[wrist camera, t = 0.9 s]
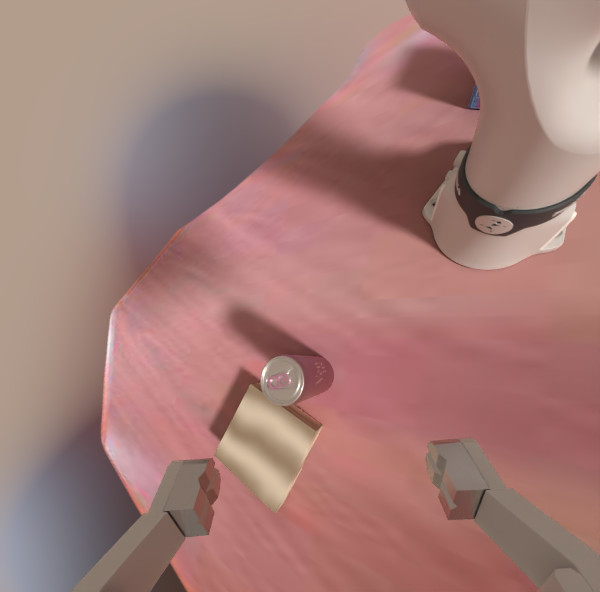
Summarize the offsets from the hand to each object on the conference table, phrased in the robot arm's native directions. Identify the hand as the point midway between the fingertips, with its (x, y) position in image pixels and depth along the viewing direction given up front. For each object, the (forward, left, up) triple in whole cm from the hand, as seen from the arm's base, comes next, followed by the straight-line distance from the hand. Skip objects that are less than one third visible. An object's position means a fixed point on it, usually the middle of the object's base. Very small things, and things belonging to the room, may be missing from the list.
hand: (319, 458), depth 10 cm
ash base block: (+17, -11, -33) cm, 39 cm away
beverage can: (+4, -9, -33) cm, 35 cm away
